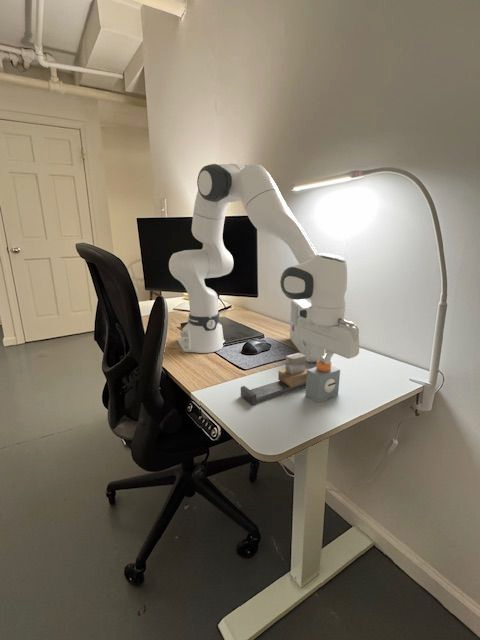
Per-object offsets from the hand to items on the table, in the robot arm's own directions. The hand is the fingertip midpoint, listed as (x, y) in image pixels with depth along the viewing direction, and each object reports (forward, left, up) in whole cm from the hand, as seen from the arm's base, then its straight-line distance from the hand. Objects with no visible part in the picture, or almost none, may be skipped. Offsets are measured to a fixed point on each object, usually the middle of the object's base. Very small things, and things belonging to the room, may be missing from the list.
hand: (324, 362), depth 92 cm
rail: (-9, -8, -10) cm, 16 cm away
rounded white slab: (-30, +21, -10) cm, 38 cm away
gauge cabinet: (0, 0, -10) cm, 10 cm away
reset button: (0, 0, -2) cm, 2 cm away
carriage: (-9, -3, -8) cm, 13 cm away
